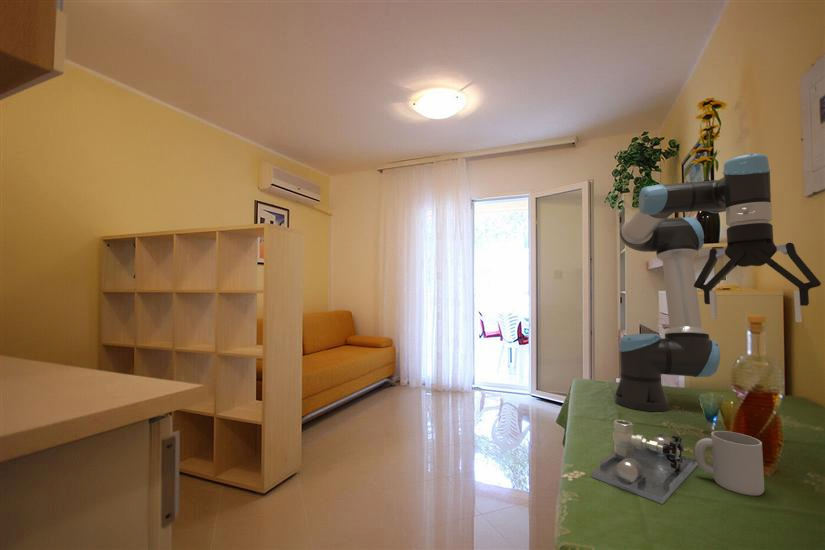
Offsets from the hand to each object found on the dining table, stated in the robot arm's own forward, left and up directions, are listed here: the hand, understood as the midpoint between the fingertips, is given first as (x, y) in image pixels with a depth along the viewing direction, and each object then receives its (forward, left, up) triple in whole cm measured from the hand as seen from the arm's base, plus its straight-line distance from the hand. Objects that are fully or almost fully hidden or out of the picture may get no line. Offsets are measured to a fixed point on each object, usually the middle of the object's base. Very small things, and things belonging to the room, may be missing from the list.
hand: (753, 320), depth 79 cm
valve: (+23, -15, -29) cm, 40 cm away
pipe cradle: (+23, -15, -31) cm, 41 cm away
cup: (+17, -3, -31) cm, 35 cm away
